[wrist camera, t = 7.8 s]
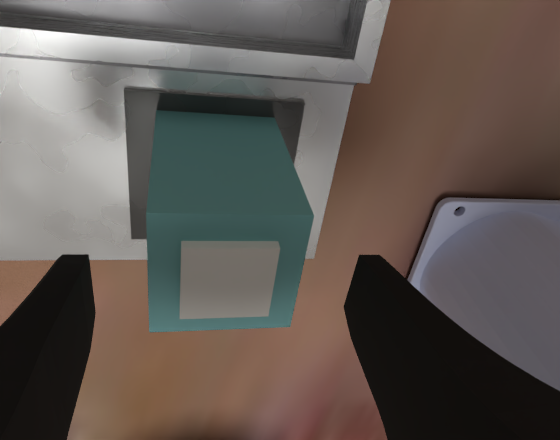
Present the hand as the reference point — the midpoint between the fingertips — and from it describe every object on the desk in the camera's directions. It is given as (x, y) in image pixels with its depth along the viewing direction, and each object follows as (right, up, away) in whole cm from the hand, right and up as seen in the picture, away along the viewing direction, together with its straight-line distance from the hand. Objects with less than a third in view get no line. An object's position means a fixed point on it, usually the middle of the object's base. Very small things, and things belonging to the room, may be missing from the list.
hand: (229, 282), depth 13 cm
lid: (-3, +4, +5) cm, 7 cm away
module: (-1, +4, +4) cm, 6 cm away
